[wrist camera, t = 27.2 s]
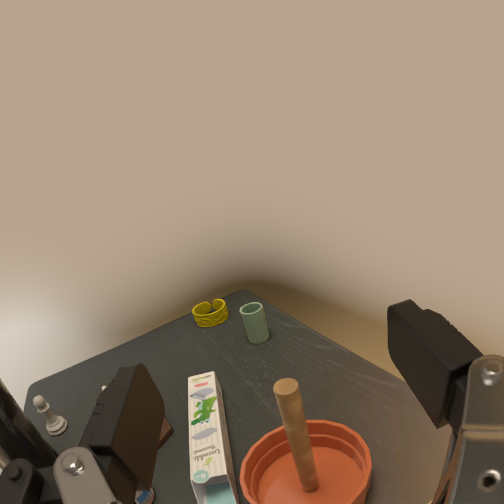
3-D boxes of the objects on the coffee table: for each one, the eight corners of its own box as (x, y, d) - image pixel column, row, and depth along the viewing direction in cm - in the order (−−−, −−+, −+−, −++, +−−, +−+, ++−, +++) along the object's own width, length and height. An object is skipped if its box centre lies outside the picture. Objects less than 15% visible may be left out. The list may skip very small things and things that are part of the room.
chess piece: (57, 417, 48) (36, 387, 46) (71, 422, 47) (49, 391, 44) (45, 432, 44) (22, 402, 41) (58, 438, 42) (34, 407, 40)
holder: (251, 346, 61) (242, 316, 59) (246, 335, 66) (237, 306, 63) (272, 339, 62) (264, 309, 60) (266, 328, 66) (258, 300, 64)
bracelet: (229, 322, 72) (225, 310, 71) (195, 330, 72) (191, 318, 71) (228, 307, 79) (224, 296, 78) (197, 315, 79) (193, 303, 78)
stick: (300, 492, 29) (270, 394, 23) (303, 479, 31) (276, 377, 25) (317, 493, 28) (295, 394, 22) (320, 479, 30) (300, 377, 24)
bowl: (269, 553, 22) (257, 540, 20) (240, 464, 35) (229, 442, 34) (390, 504, 24) (395, 484, 22) (340, 428, 37) (337, 403, 36)
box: (221, 389, 51) (246, 536, 25) (196, 395, 51) (208, 542, 24) (213, 370, 50) (235, 525, 23) (188, 377, 49) (194, 530, 23)
